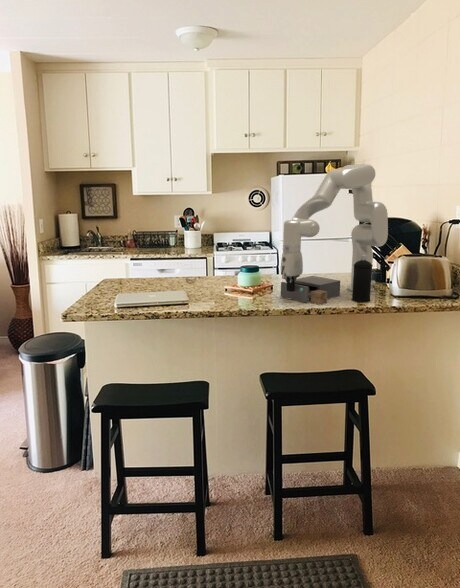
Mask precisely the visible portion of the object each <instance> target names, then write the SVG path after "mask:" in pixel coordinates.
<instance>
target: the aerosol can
mask: <svg viewBox="0 0 460 588" xmlns="http://www.w3.org/2000/svg"><path fill="white" fill-rule="evenodd" d="M373 266H374V265H373V263H372V264H371V263H370V262H368V261H366V255H362V256H361V260H360V261H357V262H356V263H355V264H354V275H353V292H352V291H351V293H352V294H351V295H352V296H351V301H353V302H355V303H356V302H357V303H369V302H371V293H372V292H371V287H372V285H371V280H372V278H371V277H372V276H373V275H372V274H373Z"/></svg>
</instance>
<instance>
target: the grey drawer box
mask: <svg viewBox="0 0 460 588" xmlns="http://www.w3.org/2000/svg"><path fill="white" fill-rule="evenodd" d="M295 284H297V285H302V286H307V287H310V288H315V289H318V290H321V291H326V292H327V298H328V299H331V297H332V298H336V297H339V295H340V294H341V280H339V279H334V278H333V279H332V278H328V277H321V276H316V275H309V276H304V277H300V278H299V277H298V278H296V282H295Z"/></svg>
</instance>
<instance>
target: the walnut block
mask: <svg viewBox="0 0 460 588" xmlns="http://www.w3.org/2000/svg"><path fill="white" fill-rule="evenodd" d="M309 302H311V303H310V304H314V303H316V304H315V305H318V304H321V305H324V304H323V303H325V304H327V303H328V299H327V292H326V291H321V290H315V291H311V299H310V301H309Z"/></svg>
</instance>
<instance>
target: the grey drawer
mask: <svg viewBox="0 0 460 588" xmlns="http://www.w3.org/2000/svg"><path fill="white" fill-rule="evenodd" d="M309 289H311V291H315V290H318V289H315V288H310V287H307V286H302V285H297V284H295V291H293V292H290V291H287V282H286V281H280V297H281V298H284V299H289V300H293V301H298V302H302V303H307V304H308V303H309V300H310V298H311V293H309ZM308 293H309V294H308Z"/></svg>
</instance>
